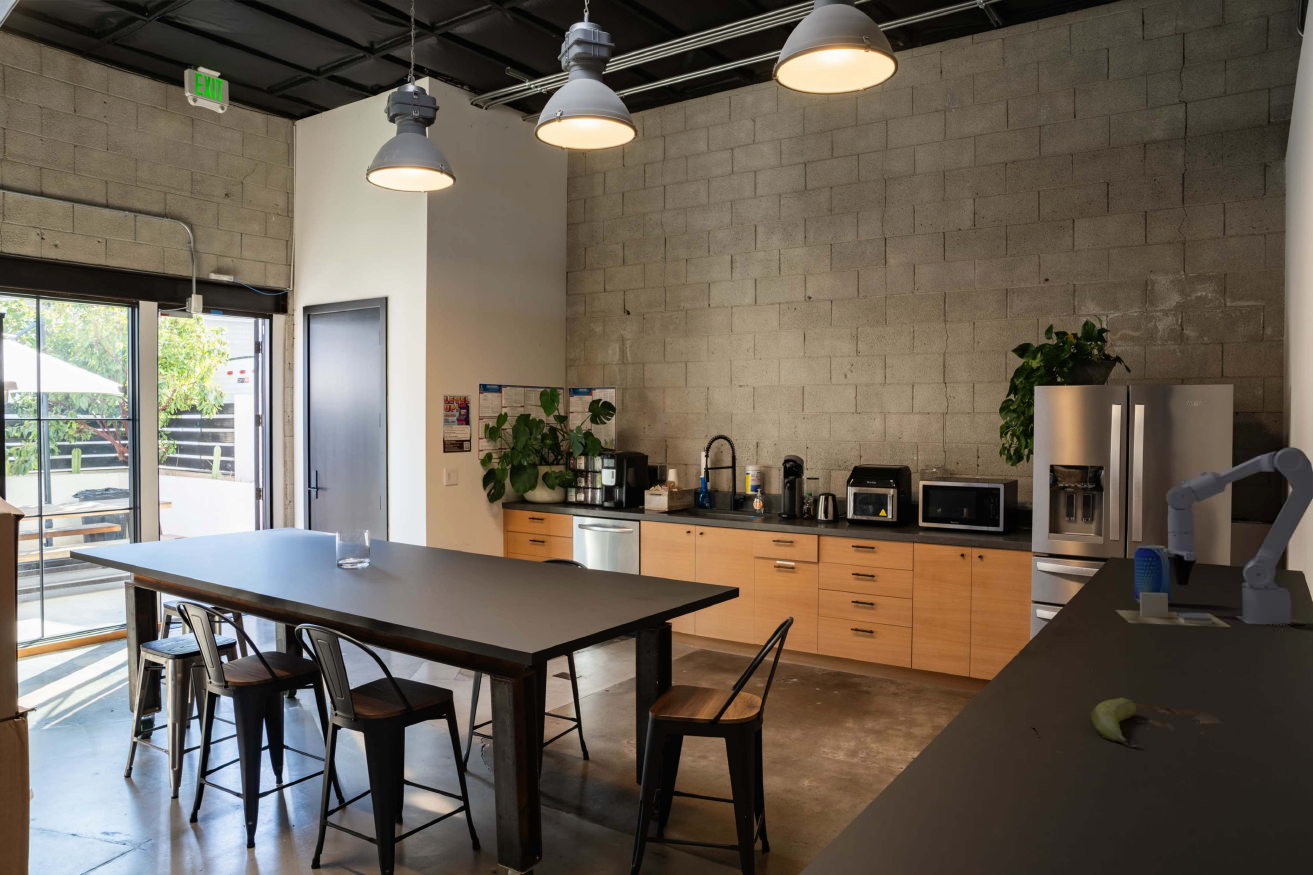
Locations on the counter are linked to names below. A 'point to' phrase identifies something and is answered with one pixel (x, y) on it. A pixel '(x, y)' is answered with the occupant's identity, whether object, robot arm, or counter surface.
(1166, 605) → the tile far
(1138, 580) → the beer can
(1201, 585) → the counter surface
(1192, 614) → the tile near
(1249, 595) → the robot arm
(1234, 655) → the counter surface
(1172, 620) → the cork mat
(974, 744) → the counter surface
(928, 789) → the counter surface
